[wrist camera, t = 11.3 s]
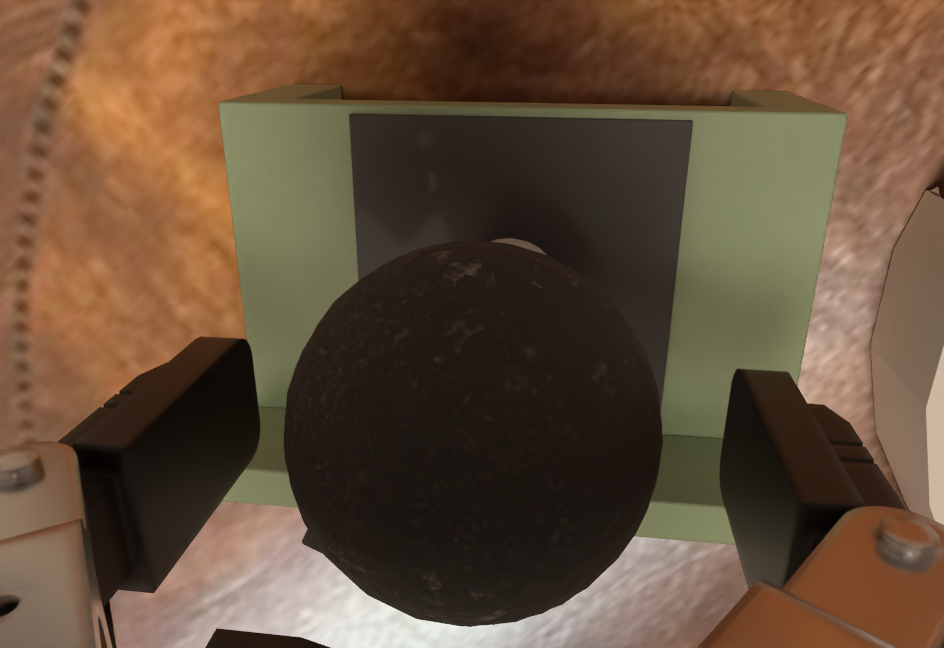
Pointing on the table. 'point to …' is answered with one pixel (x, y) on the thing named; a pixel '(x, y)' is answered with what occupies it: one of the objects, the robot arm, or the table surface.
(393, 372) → the light bulb
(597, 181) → the bench
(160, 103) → the table surface
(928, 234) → the beige round base
